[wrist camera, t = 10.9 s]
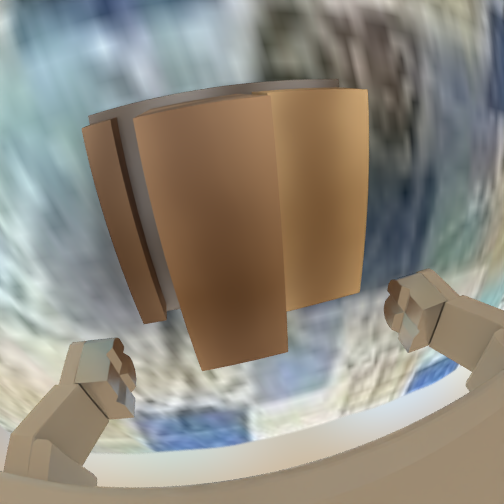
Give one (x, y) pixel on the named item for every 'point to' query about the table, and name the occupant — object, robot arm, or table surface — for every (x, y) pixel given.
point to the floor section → (289, 181)
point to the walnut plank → (219, 222)
